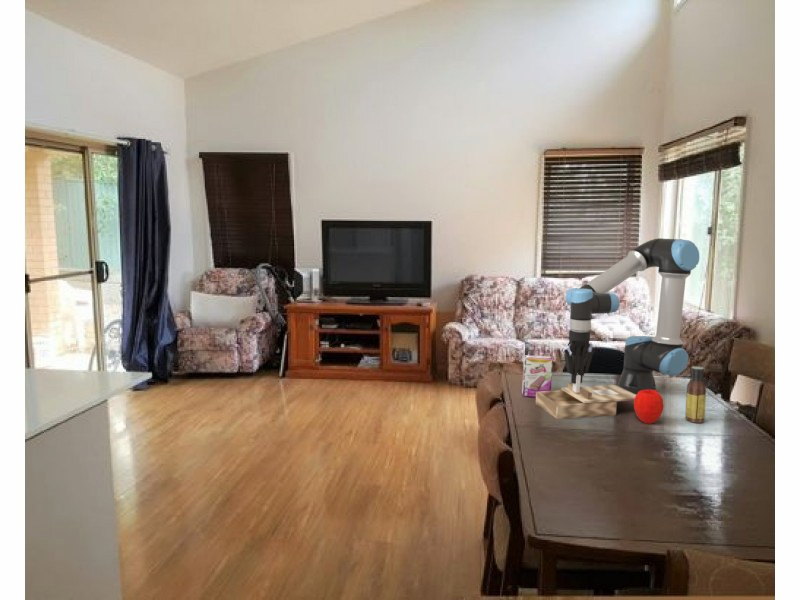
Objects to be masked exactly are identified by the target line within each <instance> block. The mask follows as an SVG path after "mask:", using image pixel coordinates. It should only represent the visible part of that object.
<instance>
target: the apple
mask: <svg viewBox="0 0 800 600" xmlns="http://www.w3.org/2000/svg"><path fill="white" fill-rule="evenodd" d="M635 395H636V396H635V399H634V400H633V408H634V412H635V415H636V416H637V417H638V419H639V421H641V422H642V423H644V424H647V425H648V424H649V425H651V424H654V423H655V422H657V421H658V420H659V418H660V417H661V416H662V414H663V411H664V400H663V396H662V394H660V393H659V392H658V391H657V390H656V391H655V390H650V389H649V390H641V391H639V392H638V393H636V394H635Z"/></svg>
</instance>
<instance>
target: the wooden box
mask: <svg viewBox="0 0 800 600" xmlns="http://www.w3.org/2000/svg"><path fill="white" fill-rule="evenodd" d="M535 405H536V406H537V407H539V408H540V409H542V410H543V411H544V412H547V413H548V414H549V415H551V416H552V417H554V418H555V419H556V420H561V419H576V418H578V419H579V418H592V417H594V418H595V417H607V416H610V417H611V416H616V415H617V405H618V401H614V402H597V403H583V402H581V401H580V400H578V399H576V398H575V397H573V396H571V395H569V394H568V393H566V392H564V391H562V390H561V389H560V390H551V391H540V392H536V397H535Z"/></svg>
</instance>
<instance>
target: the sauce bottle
mask: <svg viewBox="0 0 800 600" xmlns="http://www.w3.org/2000/svg"><path fill="white" fill-rule="evenodd" d="M690 372H691V376H690V380H689V382H688V383H687V384H686V385H687V386H686V395H685V397H686V398H685V399H686V400H685V401H686V402H685V415H684V416H685V420H686V421H688V422H689V421H690V423H694V424H701V423H704V421H705V417H706V415H705V414H706V401H707V400H706V398H707V397H706V396H707V393H706V392H707V386H706V384H705V382H704V378H703V377H704V372H705V368H704V367H702V366H696V365H695V366H691V368H690Z"/></svg>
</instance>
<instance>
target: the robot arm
mask: <svg viewBox="0 0 800 600" xmlns="http://www.w3.org/2000/svg"><path fill="white" fill-rule="evenodd" d="M699 262H700V250H699V248H698V247H697V245H696V244H695V243H694V242H693V241H691V240H688V239H682V238H677V239H676V238H659V237H658V238H654V239H649V240H648V241H646V242H643V243H642V244H639V245H638V246H636V247H635V248H633V249H631V250H630V251H629V252H628V253H627V256H626V257H624V258H623V259H621V260H620V261H618V262H617V263H615V264H614V265H612V266H611V267H609V268H608V269H606V270H605V271H603V272H602V273H600V274H599V275H597V276H596V277H594V278H592V279H591V280H590V281H588V282H586V283H585V284H584V285H582V286H580V287H579V288H577V287H573V288H570V289H568V290H567V291H566V293H565V303H566V304H567V305H568V306H570V316H569V317H570V319H569V329H570V330H569V332H568V344H567V346H566V347H565V348H564V347H563V348H562V349H561V351H562V353H563V356H564V361H565V362H564V364H565V369H566V372H567V373H568V374H569V375H571V380H570V382H572V383H573V390H572V391H574V392H576V393H579V392H580V387H581V384H582V383H583V376H585V374H588V373H589V370H590V365H591V362H592V358H593V355H594V354H595V352H596V348H595V347H592V346H591V344H590V339H591V332H590V331H591V329H592V315H594V314H595V315H597V314H598V315H600V314H608V315H609V314H612V313H616V312H617V311H618V310H619V308H620V302H621V301H620V299H619V297H618V295H617V294H616V293H610V291H611V290H614V289H615V288H616V287H618V286H619V285H620V284H622V283H623V282H625V281H626V280H628V279H629V278H630V277H633V276H634V275H635V274H637V273H638V272H644V271H646V270H647V269H650V268H656V267H657V268H658V271H657V273H658V274H659V275H660V276H661V283H660V284H661V285H660V292H659V293H660V294H659V302H658V305H659V306H658V311H657V313H658V314H657V315H658V316H657V322H656V334H655V336H650V335H636V336H635V335H634V336H633V335H632V336H628V337H627V338H626V339H625V345H624V354H623V355H624V356H623V370H622V372H621V375H620V377H619V380H618V381H617V386H619V387H621V388H623V389H625V390H627V391H629V392H631V393H633V394H637V393H638V392H639V391H641V390H649V389H650V390H655V391H657V390H656V389H657V386H656V381H655V377H654V373H653V371H654V372H657V373H660V374H661V375H665V376H671V377H672V376H673V377H675V376H677V375H680V374H681V373H682V372H683V371H684V370H685V369H686V368H687V367H688V363H689V353H688V352H687V351H686V349H684V341H682V340H681V338H680V337H681V336H680V335H681V329H682V328H681V326H682V317H683V306H684V297H685V289H686V279H687V278H688V277H690V275H691V273H692V271H693V270H694V269H696V268H697V265H699ZM570 353H571V354H570Z"/></svg>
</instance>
